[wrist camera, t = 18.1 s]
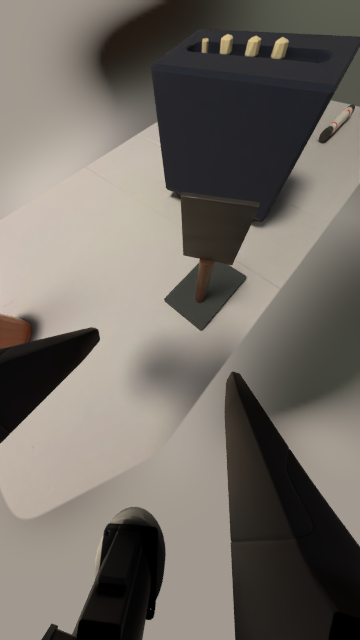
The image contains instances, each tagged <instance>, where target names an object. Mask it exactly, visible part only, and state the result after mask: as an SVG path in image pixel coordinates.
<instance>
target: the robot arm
mask: <svg viewBox="0 0 360 640" xmlns="http://www.w3.org/2000/svg"><path fill="white" fill-rule="evenodd" d="M99 340H100V337H99V331H98V329H96V328H87V329H82V330H78V331H74V332H70V333H66V334H61V335H57V336H53V337H49V338H45V339H40V340H36V341H32V342H28V343H23V344H19V345H15V346H11V347H6V348H2V349H0V443H1V442H2V441H3V440H4V439H5V438H6V437H7V436H8V435H9V434H10V433H11V432H12V431H13V430H14V429H15V428H16V427H17V426H18V425H19V424H20V423H21V422H22V421H23V420H24V419H25V418H26V417H27V416H28V415H29V414H30V413H31V412H32V411H33V410H34V409H35V408H36V407H37V406H38V405H39V404H40V403H41V402H42V401H43V400H44V399H45V398H46V397H47V396H48V395H49V394H50V393H51V392H52V391H53V390H54V389H55V388H56V387H57V386H58V385H59V384H60V383H61V382H62V381H63V380H64V379H65V378H66V377H67V376H68V375H69V374H70V373H71V372H72V371H73V370H74V369H75V368H76V367H77V366H78V365H79V364H80V363H81V362H82V361H83V360H84V359H85V358H86V357H87V355H88V354H89V353H90V352H91V351H92V349H93V348H94V347H95V346H96V345H97V343H98V342H99ZM225 428H226V449H227V470H228V490H229V512H230V533H231V557H232V577H233V598H234V619H235V639H236V640H360V546H359V545H358V544H357V542H356V541H355V540H354V538H353V537H352V536H351V534H350V533H349V532H348V530H347V529H346V527H345V526H344V525H343V523H342V522H341V521H340V519H339V518H338V517H337V515H336V514H335V513H334V511H333V510H332V508H331V507H330V506H329V505H328V503H327V502H326V500H325V499H324V497H323V496H322V495H321V493H320V492H319V490H318V489H317V488H316V486H315V485H314V484H313V482H312V481H311V479H310V478H309V476H308V475H307V473H306V472H305V471H304V469H303V468H302V466H301V465H300V463H299V462H298V460H297V459H296V458H295V456H294V454H293V453H292V451H291V450H290V449H289V447H288V445H287V444H286V443H285V441H284V439H283V438H282V437H281V435H280V434H279V432H278V431H277V429H276V427H275V426H274V425H273V423H272V421H271V420H270V418H269V417H268V415H267V414H266V413H265V411H264V409H263V408H262V407H261V405H260V403H259V402H258V400H257V399H256V397H255V396H254V395H253V393H252V391H251V390H250V389H249V387H248V386H247V384H246V382H245V381H244V379H243V378H242V377H241V375H240V374H239V373H236V372H231V374H230V376H229V378H228V379H227V383H226V396H225ZM108 530H109V531H110V532H109V531H108ZM153 534H155V536H153ZM157 558H158V529H157V528H156V527H151V526H140V525H128V524H116V523H109V524H107V526H106V528H105V530H104V534H103V542H102V550H101V558H100V566H99V572H98V574H97V577H96V579H95V582H94V584H93V586H92V589H91V591H90V593H89V596H88V598H87V601H86V603H85V605H84V608H83V610H82V612H81V615H80V617H79V620H78V622H77V624H76V627H75V629H74V632H73V634H72V635H71V634H69V633H66V632H64V631H61V630H58V629H57V628H58V626H57V625H54V624H51V625H50V627H49V629H48V630H47V632H46V634H45V635H44V637H43V638H42V640H142V637H143V631H144V625H145V620H152V619H153V617H154V614H155V607H156V584H157Z"/></svg>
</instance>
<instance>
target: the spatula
mask: <svg viewBox="0 0 360 640" xmlns="http://www.w3.org/2000/svg"><path fill="white" fill-rule="evenodd" d="M259 205H260V202H253V201H246V200H239V199H231V198H224V197H216V196H209V195H202V194H194V193H187V192H182V194H181V213H182V234H183V255H185V256H190V257H195V258H200V261H199V269H198V278H197V287H196V296H195V300H196V302H198V303H202V302H203V301H204V299H205V296H206V292H207V288H208V285H209V281H210V277H211V274H212V270H213V266H214V263H215V262H219V263H224V264H229V265H232V264H233V262H234V260H235V258H236V256H237V253H238V251H239V249H240V247H241V245H242V243H243V241H244V238H245V236H246V234H247V232H248V230H249V228H250V225H251V223H252V221H253V219H254V217H255V215H256V213H257V210H258V208H259Z"/></svg>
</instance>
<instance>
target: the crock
mask: <svg viewBox="0 0 360 640" xmlns="http://www.w3.org/2000/svg"><path fill="white" fill-rule="evenodd" d="M30 336H31V326H30V324H29V323H28V322H27V321H26V320H24V319H20V318H17V317H12V316H8V315H4V314H0V349H2V348H6V347H11V346H15V345H19V344H23V343H28V341H29V339H30Z"/></svg>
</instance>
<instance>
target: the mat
mask: <svg viewBox="0 0 360 640" xmlns="http://www.w3.org/2000/svg"><path fill="white" fill-rule="evenodd" d="M198 269H199V264H198V265H197V266H196V267H195V268H194V269H193V270H192V271H191V272H190V273H189V274H188V275H187V276H186V277H185V278H184V279H183V280H182V281H181V282H180V283H179V284H178V285H177V286H176V287H175V288H174V289H173V290H172V291H171V292H170V293H169V295H168V296H167V297H166V298H165V299H164V300H165V302H166V303H167V304H169V305H170V306H171V307H172V308H174V309H175V310H176V311H177V312H178V313H180V314H181V315H182V316H183V317H185V318H186V319H187V320H188V321H190V322H191V323H192V324H193V325H194V326H196V327H197V328H198V329H199V330H201V331H202V330H203V328H204V327H205V326H206V325H207V324H208V323H209V321H210V320H211V319H212V318H213V317H214V316H215V314H216V313H217V312H218V311H219V310H220V308H221V307H222V306H223V305H224V304H225V303H226V301H227V300H228V299H229V298H230V297H231V295H232V294H233V293H234V292H235V291H236V290H237V288H238V287H239V286H240V285H241V284H242V283H243V281H244V280H245V279H246V276H245V275H243V274H242V273H240V272H238V271H237V270H235V269H234V268H232V267H231V266H229V265H227V264H224V263H219V262H215V263H214V266H213V270H212V274H211V277H210V281H209V285H208V288H207V292H206V296H205V299H204V301H203V302H202V303H198V302H196V300H195V296H196V287H197V278H198Z"/></svg>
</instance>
